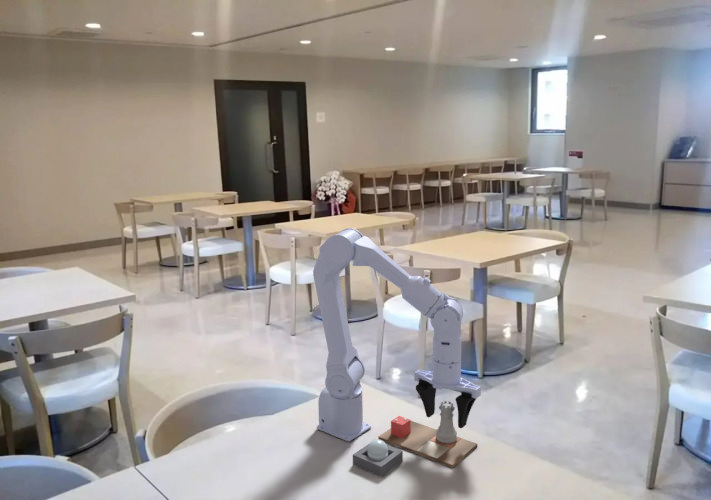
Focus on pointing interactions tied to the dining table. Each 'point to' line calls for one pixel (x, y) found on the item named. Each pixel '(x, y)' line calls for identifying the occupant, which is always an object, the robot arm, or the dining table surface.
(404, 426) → the red die
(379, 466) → the dome housing
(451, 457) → the game board
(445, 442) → the rook chess piece
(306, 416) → the dining table surface
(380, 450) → the dome button
